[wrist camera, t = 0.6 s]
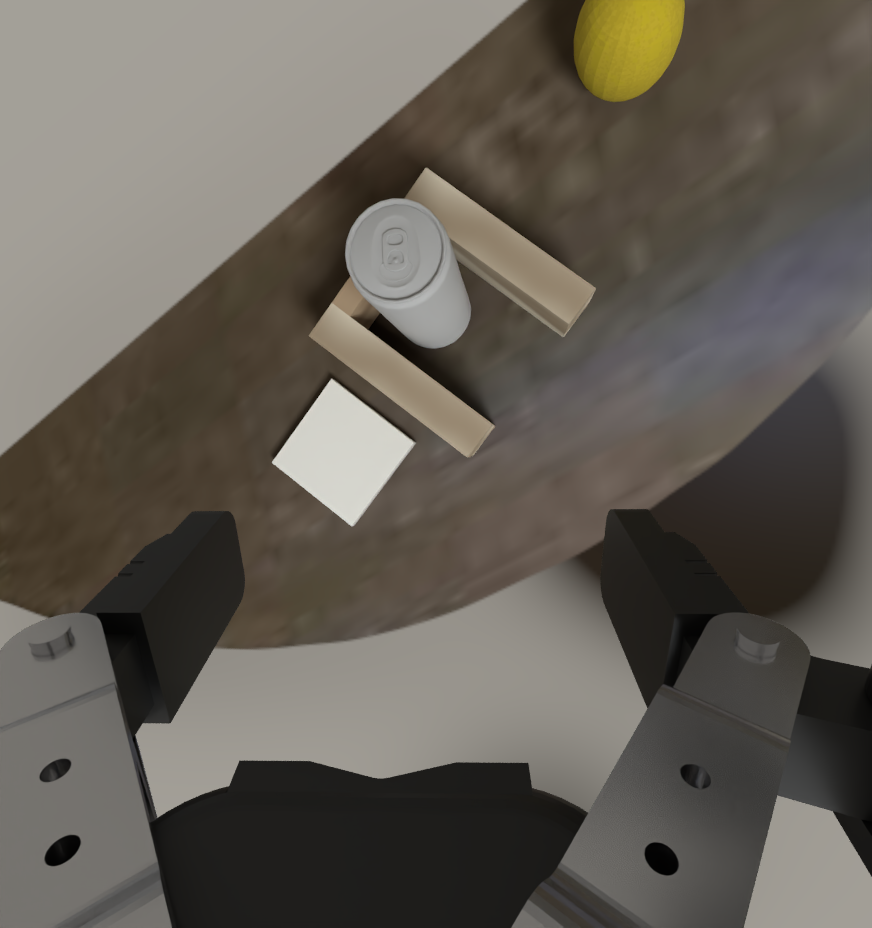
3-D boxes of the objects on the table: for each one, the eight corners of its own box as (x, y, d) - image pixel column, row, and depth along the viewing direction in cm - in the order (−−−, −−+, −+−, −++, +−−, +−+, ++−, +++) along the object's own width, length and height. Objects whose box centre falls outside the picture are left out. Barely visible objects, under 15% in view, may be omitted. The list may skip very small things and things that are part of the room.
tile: (334, 379, 37) (331, 378, 37) (416, 442, 37) (414, 442, 36) (275, 462, 38) (271, 462, 38) (354, 525, 38) (351, 526, 37)
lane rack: (436, 197, 36) (425, 167, 32) (587, 305, 35) (596, 288, 31) (330, 346, 37) (308, 335, 33) (472, 455, 36) (467, 457, 32)
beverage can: (400, 352, 37) (343, 309, 25) (397, 278, 36) (339, 199, 25) (473, 348, 36) (451, 302, 24) (471, 272, 36) (447, 189, 24)
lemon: (575, 33, 34) (593, -90, 26) (668, 38, 33) (715, -87, 26) (560, 125, 35) (573, 32, 27) (652, 132, 34) (693, 38, 26)
